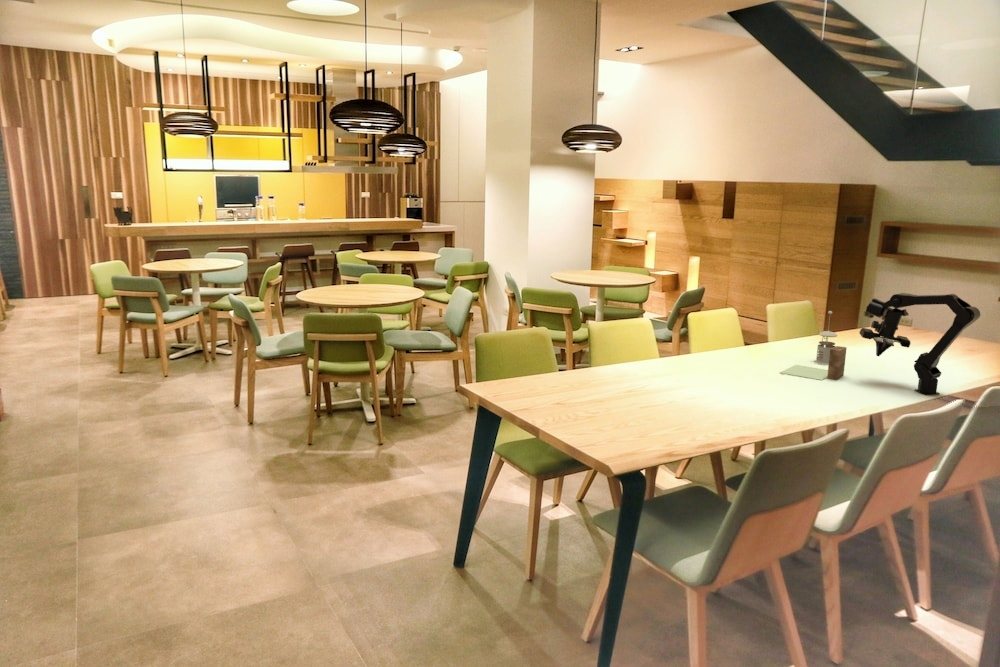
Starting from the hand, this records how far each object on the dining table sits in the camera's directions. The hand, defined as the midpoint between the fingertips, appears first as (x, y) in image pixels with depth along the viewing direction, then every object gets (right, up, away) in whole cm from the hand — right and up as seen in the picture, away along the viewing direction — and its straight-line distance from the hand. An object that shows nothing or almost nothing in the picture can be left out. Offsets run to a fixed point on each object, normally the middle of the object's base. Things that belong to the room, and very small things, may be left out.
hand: (877, 355), depth 294 cm
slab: (-13, -10, +10) cm, 19 cm away
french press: (-5, -4, +37) cm, 37 cm away
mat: (-22, -8, +17) cm, 29 cm away
